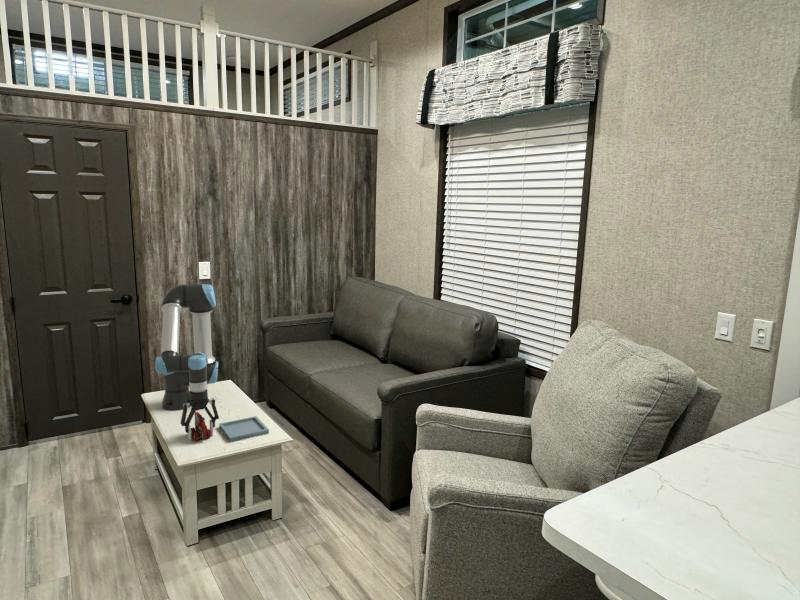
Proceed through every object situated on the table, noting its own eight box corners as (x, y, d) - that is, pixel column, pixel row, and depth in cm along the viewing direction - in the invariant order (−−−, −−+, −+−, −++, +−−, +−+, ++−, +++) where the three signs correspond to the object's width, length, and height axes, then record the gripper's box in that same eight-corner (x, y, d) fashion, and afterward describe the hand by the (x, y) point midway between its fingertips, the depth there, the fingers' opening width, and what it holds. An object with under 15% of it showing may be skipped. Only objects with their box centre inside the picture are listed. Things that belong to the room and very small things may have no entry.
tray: (219, 427, 255) (219, 423, 255) (256, 419, 265) (256, 416, 265) (230, 442, 241) (230, 437, 240) (268, 433, 251) (268, 429, 250)
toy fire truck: (196, 444, 238) (195, 422, 236) (189, 434, 248) (187, 412, 246) (212, 440, 242) (211, 418, 240) (204, 430, 252) (203, 409, 250)
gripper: (174, 396, 232) (177, 445, 236) (225, 388, 244) (227, 434, 248) (171, 391, 238) (173, 438, 242) (220, 383, 250) (222, 428, 254)
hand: (200, 436), depth 245 cm, fingers open, 9 cm apart
